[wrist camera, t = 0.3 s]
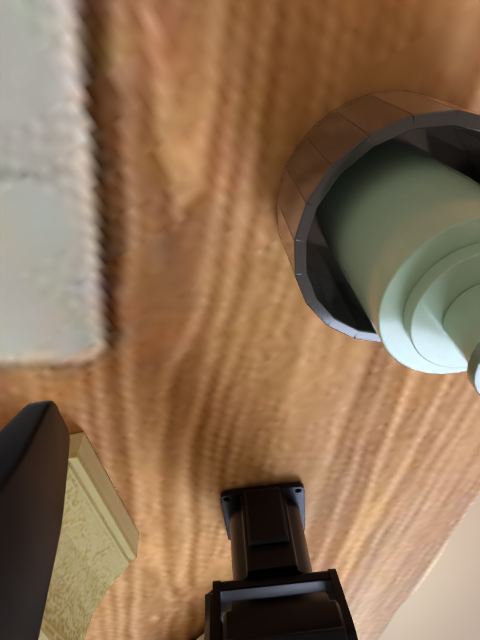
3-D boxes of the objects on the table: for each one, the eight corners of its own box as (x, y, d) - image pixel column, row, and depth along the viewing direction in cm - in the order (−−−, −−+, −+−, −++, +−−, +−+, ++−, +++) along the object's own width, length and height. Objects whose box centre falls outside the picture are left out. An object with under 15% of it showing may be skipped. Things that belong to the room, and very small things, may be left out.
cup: (454, 276, 25) (505, 329, 20) (280, 297, 24) (296, 353, 20) (497, 78, 19) (579, 96, 15) (271, 103, 19) (291, 128, 15)
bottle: (429, 253, 23) (598, 428, 13) (316, 266, 23) (402, 452, 13) (449, 132, 20) (699, 248, 10) (317, 147, 20) (435, 278, 10)
